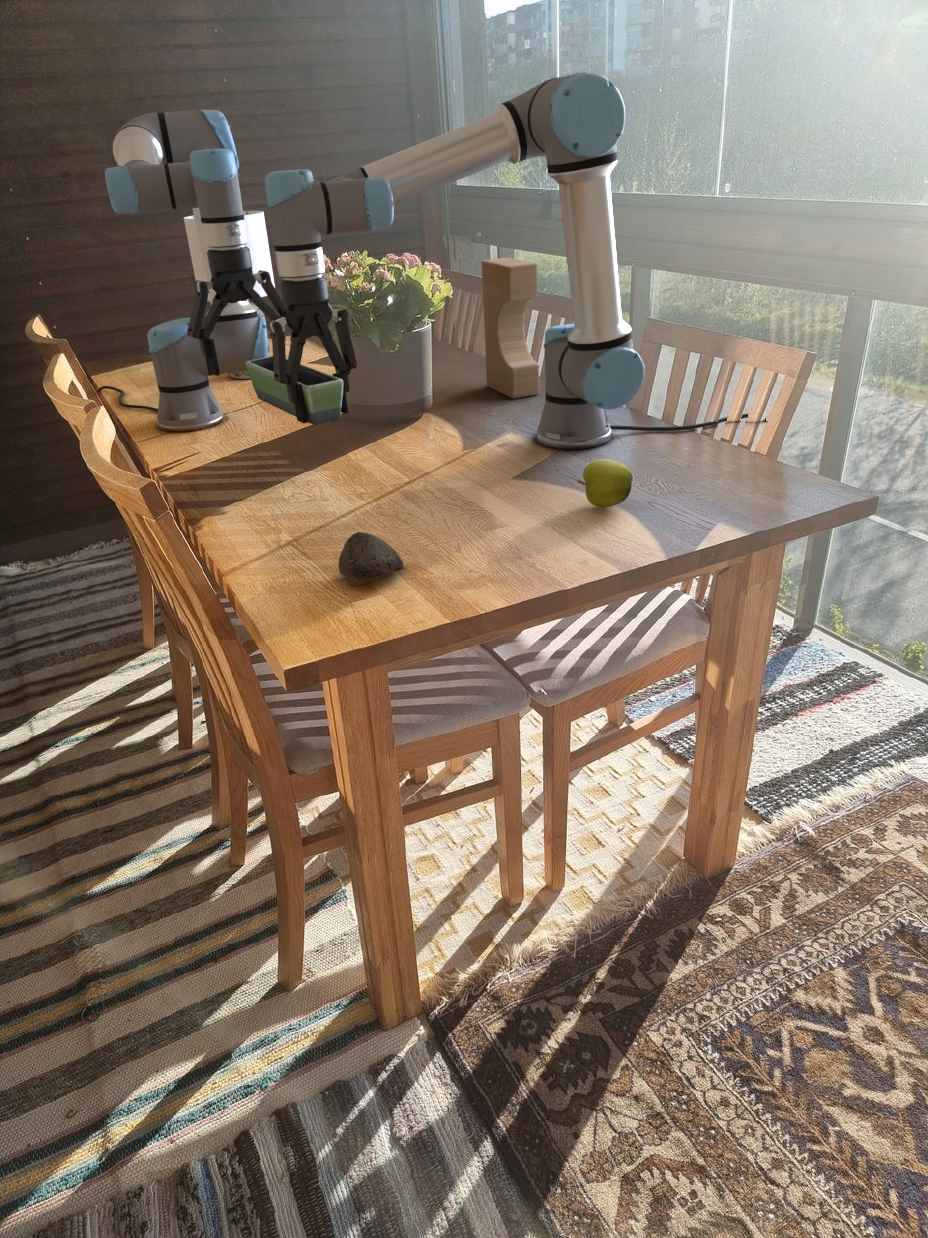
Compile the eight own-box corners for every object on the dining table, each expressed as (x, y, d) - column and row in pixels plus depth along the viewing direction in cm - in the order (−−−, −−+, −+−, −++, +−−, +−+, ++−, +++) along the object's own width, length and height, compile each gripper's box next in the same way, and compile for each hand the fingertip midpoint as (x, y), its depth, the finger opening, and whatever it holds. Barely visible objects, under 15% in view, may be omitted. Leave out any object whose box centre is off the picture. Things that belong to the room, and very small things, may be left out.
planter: (249, 398, 170) (243, 360, 167) (284, 391, 174) (278, 354, 170) (312, 429, 150) (306, 387, 146) (349, 420, 153) (344, 378, 150)
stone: (370, 582, 138) (319, 551, 133) (405, 543, 136) (354, 511, 130) (380, 619, 131) (327, 588, 125) (417, 579, 128) (364, 545, 123)
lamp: (301, 366, 256) (278, 209, 236) (258, 384, 240) (230, 217, 220) (244, 363, 264) (217, 211, 244) (199, 380, 248) (166, 219, 228)
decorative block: (540, 394, 215) (538, 263, 201) (512, 399, 213) (508, 266, 198) (512, 381, 227) (509, 256, 213) (486, 386, 225) (480, 260, 210)
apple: (575, 498, 154) (576, 454, 151) (628, 496, 154) (629, 451, 150) (579, 515, 148) (579, 469, 144) (634, 513, 147) (636, 467, 143)
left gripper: (169, 258, 148) (195, 384, 159) (299, 239, 161) (315, 357, 172) (152, 254, 153) (178, 377, 164) (279, 236, 166) (295, 351, 177)
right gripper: (253, 288, 135) (278, 434, 146) (368, 270, 144) (383, 408, 156) (235, 283, 140) (260, 424, 152) (346, 266, 150) (362, 400, 161)
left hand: (248, 367), depth 168 cm, fingers open, 13 cm apart
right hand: (322, 416), depth 154 cm, fingers closed on planter, 7 cm apart
